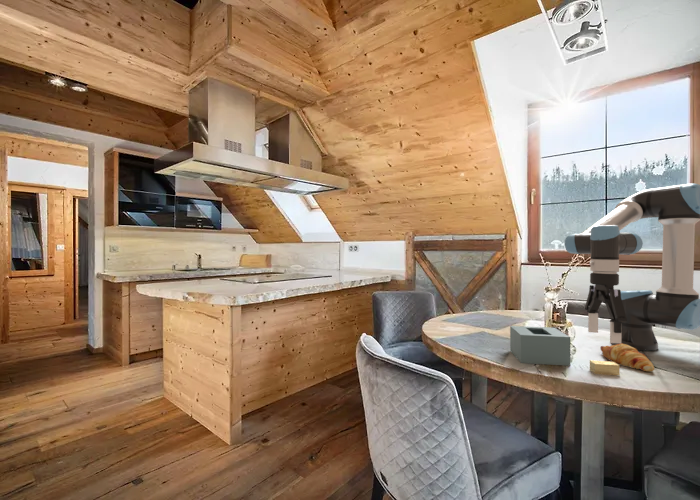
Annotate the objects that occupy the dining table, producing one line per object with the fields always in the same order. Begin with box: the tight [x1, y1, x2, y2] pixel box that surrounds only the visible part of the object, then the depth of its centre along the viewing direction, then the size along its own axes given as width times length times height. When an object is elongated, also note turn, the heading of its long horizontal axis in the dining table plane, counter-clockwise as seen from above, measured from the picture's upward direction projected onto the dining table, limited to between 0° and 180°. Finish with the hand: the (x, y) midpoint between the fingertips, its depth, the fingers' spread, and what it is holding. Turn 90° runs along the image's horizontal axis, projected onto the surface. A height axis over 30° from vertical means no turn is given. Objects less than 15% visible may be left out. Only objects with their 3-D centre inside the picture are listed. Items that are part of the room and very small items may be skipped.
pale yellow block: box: [589, 359, 621, 376], centre depth 110 cm, size 7×4×4 cm, turn 78°
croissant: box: [600, 343, 655, 372], centre depth 119 cm, size 21×10×8 cm, turn 3°
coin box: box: [509, 325, 571, 366], centre depth 125 cm, size 16×14×10 cm
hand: (603, 337), depth 110 cm, fingers open, 13 cm apart
